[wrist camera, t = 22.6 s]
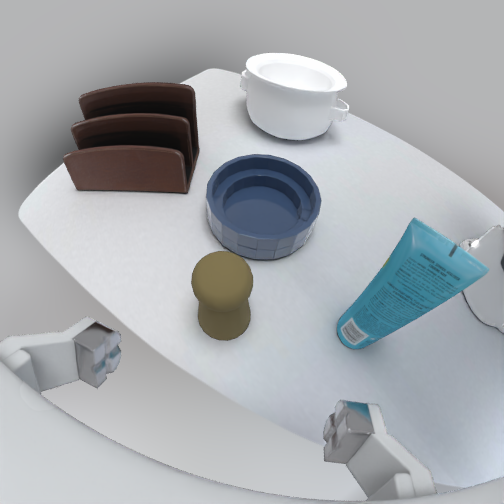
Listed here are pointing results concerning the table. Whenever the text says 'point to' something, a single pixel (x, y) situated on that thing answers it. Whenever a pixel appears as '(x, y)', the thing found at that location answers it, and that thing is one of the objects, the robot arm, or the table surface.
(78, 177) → the letter holder
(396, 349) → the table surface
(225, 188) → the bowl
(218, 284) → the cork
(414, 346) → the table surface
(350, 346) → the tube
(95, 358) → the robot arm
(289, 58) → the pot
